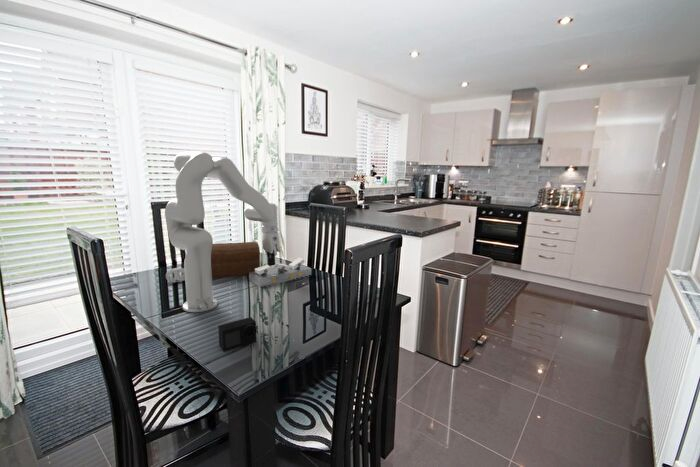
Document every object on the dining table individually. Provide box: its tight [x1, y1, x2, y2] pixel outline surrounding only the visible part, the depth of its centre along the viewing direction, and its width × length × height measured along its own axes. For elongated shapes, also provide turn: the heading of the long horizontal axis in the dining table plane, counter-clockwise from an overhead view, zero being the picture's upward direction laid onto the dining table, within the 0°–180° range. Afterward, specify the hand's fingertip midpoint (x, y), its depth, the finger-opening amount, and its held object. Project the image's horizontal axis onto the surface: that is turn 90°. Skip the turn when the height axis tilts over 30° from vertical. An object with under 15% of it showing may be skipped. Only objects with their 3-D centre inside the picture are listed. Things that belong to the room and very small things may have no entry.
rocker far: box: [288, 257, 306, 269], centre depth 167 cm, size 5×7×2 cm, turn 131°
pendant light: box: [165, 255, 185, 283], centre depth 151 cm, size 9×9×30 cm
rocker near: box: [255, 264, 273, 274], centre depth 155 cm, size 5×7×2 cm, turn 131°
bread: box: [211, 241, 261, 279], centre depth 167 cm, size 18×30×16 cm, turn 112°
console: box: [248, 264, 312, 288], centre depth 162 cm, size 12×29×5 cm, turn 131°
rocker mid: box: [272, 262, 290, 270], centre depth 161 cm, size 5×7×2 cm, turn 131°
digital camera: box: [217, 317, 258, 353], centre depth 98 cm, size 10×5×7 cm, turn 129°
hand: (271, 264), depth 158 cm, fingers closed
